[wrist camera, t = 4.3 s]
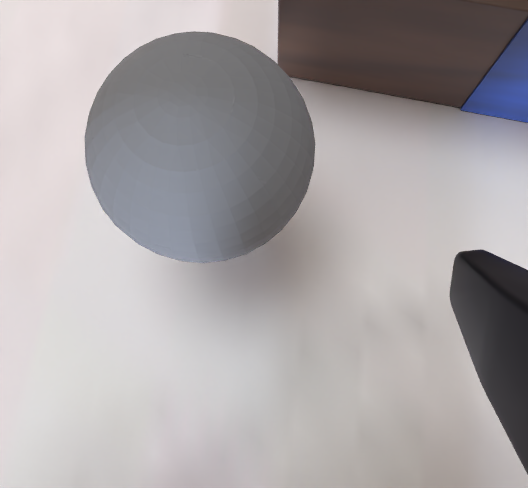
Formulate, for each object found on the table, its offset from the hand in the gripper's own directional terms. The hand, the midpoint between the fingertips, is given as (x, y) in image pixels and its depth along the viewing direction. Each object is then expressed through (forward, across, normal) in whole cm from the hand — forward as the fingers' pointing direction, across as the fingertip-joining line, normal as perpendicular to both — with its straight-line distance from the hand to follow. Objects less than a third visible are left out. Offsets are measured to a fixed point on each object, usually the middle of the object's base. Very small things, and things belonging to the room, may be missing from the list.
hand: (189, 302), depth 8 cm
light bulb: (+11, 0, +5) cm, 12 cm away
